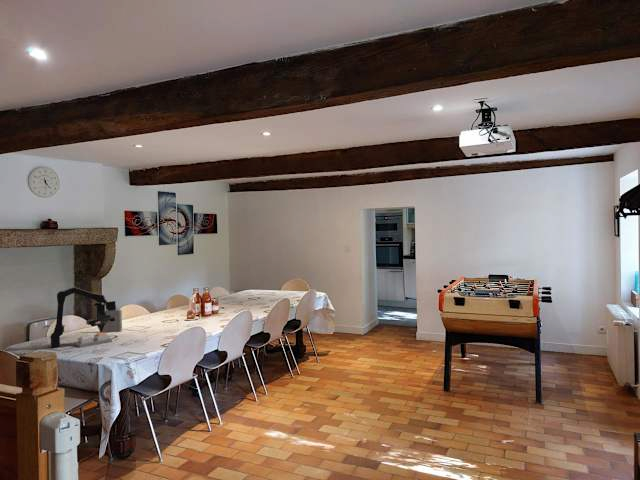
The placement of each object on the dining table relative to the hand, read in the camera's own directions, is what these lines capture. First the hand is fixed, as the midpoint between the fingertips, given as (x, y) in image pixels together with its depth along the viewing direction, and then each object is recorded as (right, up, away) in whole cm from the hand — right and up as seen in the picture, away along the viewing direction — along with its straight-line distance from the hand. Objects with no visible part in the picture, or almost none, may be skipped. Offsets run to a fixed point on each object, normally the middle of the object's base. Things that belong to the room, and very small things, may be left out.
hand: (101, 332), depth 332 cm
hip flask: (-8, -7, +35) cm, 37 cm away
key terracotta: (0, -4, 0) cm, 4 cm away
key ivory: (-7, -4, -8) cm, 12 cm away
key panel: (-4, -7, -4) cm, 9 cm away
